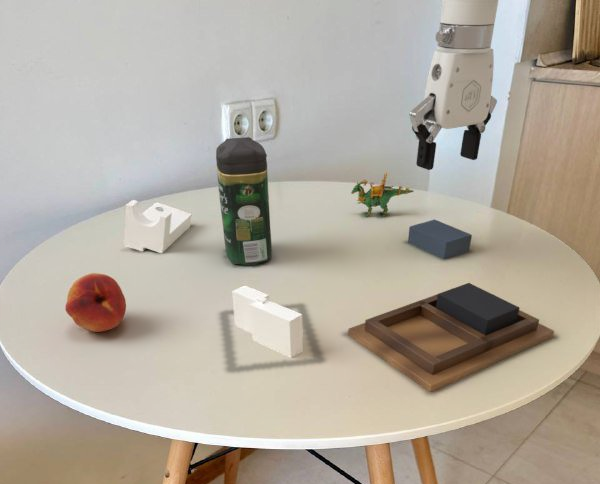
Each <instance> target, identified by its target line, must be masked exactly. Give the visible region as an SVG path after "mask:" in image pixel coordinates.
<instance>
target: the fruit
mask: <svg viewBox="0 0 600 484" xmlns="http://www.w3.org/2000/svg"><path fill="white" fill-rule="evenodd" d="M126 310H127V301H126V298H125V295H124V293H123V290H122V288H121V286H120V285H119V284H118V282H117V280H116V279H114V278H113V277H111V276H110V275H107V274H105V273H104V274H103V273H97V272H96V273H95V272H93V273H88V274H84V275H83V276H81V277H80V278H78V279H76V280H75V281H74V282H73V283H72V285H71V287H70V288H69V291H68V293H67V298H66V303H65V312H66V314H67V315H68V316H69V317H70V318H71V319H72V320H73V322H74V323H75V324H76V325H77V326H79V327H80V328H82V329H84V330H87V331H89V332H90V331H91V332H95V333H97V332H99V333H100V332H107V331H110V330H112V329H115V328H117V327H118V326H119V324H120V323H121V322H122V320H123V319H124V317H125V314H126V312H127V311H126Z"/></svg>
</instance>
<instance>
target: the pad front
mask: <svg viewBox="0 0 600 484" xmlns="http://www.w3.org/2000/svg"><path fill="white" fill-rule="evenodd" d="M472 237H473V235H472V234H471V233H469V232H466V231H465V230H461V229H459V228H456V227H454V226H452V225H449V224H447V223H444V222H442V221H440V220H437V219H431V220H427V221H424V222H421V223H417V224H413V225H410V226H409V227H408V238H407V243H408V244H410V245H412V246H414V247H417V248H418V249H421V250H422V251H424V252H427V253H429V254H431V255H433V256H435V257H438V258H440V259H441V260H447V259H449V258H453V257H456V256H459V255H462V254H465V253H469V252H470V249H471V242H472Z"/></svg>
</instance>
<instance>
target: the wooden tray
mask: <svg viewBox="0 0 600 484" xmlns="http://www.w3.org/2000/svg"><path fill="white" fill-rule="evenodd" d="M438 294H439V293H437V294H434V295H431V296H428V297H426V298H423V299H420V300H418V301H417V300H416V301H415V302H412V303H409V304H406V305H403V306H401V307H398V308H395V309H392V310H389V311H386V312H383V313H381V314H379V315H378V314H377V315H376V316H372V317H370V318H367V319H365V321H364V322H363V323H361V324H358V325H355V326H352V327H349V328H348V329H347V330H348V331H347V335H348V336H349V337H350V338H352V339H353V340H355V341H356V342H357V343H359V344H361V345H362V346H363V347H365V348H366V349H367V350H369V351H371V353H374V355H376V356H378V357H379V358H381V359H382V360H383V361H385V362H387V363H388V364H389V365H391V366H392V367H394V368H395V369H396V370H398V371H399V372H401V373H402V374H404V375H405V376H406V377H408V378H409V379H410V380H412V381H413V382H415V383H416V384H418V385H419V386H421V387H422V388H423V389H425V390H426V391H428V392H429V393H432V392H434V391H436V390H439V389H441V388H443V387H446V386H447V385H450V384H452V383H454V382H456V381H459V380H461V379H464V378H466V377H468V376H470V375H473V374H475V373H477V372H478V371H481V370H483V369H485V368H488V367H490V366H492V365H494V364H496V363H499V362H500V361H504V360H506V359H508V358H510V357H512V356H514V355H516V354H518V353H521V352H523V351H525V350H527V349H530V348H532V347H534V346H536V345H539V344H541V343H543V342H545V341H548V340H549V339H552V338H553V337H554V334H555V330H553V329H551V328H549V327H547V326H546V325H543V324H541V323H540V319H539V318H537V317H534V316H533V315H531V314H529V313H527V312H525V311H522V310H520V309H519V313H518V317H517V321H516V323H515V324H513V325H510V326H508V327H505V328H503V329H501V330H498V331H496V332H493V333H491V334H489V335H484V334H482V333H480V332H478V331H477V330H475V329H473V328H471V327H469V326H468V325H466V324H464V323H462V322H460V321H459V320H457V319H455V318H453V317H451V316H450V315H448V314H446V313H444V312H442V311H440V310H439V309H437V308H436V303H437V296H438Z"/></svg>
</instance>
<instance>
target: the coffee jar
mask: <svg viewBox="0 0 600 484" xmlns="http://www.w3.org/2000/svg"><path fill="white" fill-rule="evenodd" d="M267 157H268V155H267V153H266V150H265V148H264V147H263V145H262V144H261V143H260V142H258V141H256V140H254V139H253V138H252V137H249V136H248V137H247V136H246V137H233V138H232V137H231V138H226V139H225V140H224V141H223V142H222V143H220V144H219V145H218V146H217V147H216V150H215V159H216V160H215V161H216V171H217V173H216V174H217V185H218V186H217V187H218V195H219V196H218V197H219V204H220V212H221V221H222V230H223V239H224V240H223V241H224V247H225V255H226V257H227V259H228V261H230V262H231V264H235V265H242V266H254V265H255V266H256V265H258V264H261V263H264V262H268V261H269V260H271V258H272V256H273V251H272V232H271V216H270V215H271V214H270V198H269V197H270V196H269V195H270V194H269V180H268V179H269V178H268V176H269V175H268V174H269V173H268V161H267Z"/></svg>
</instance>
